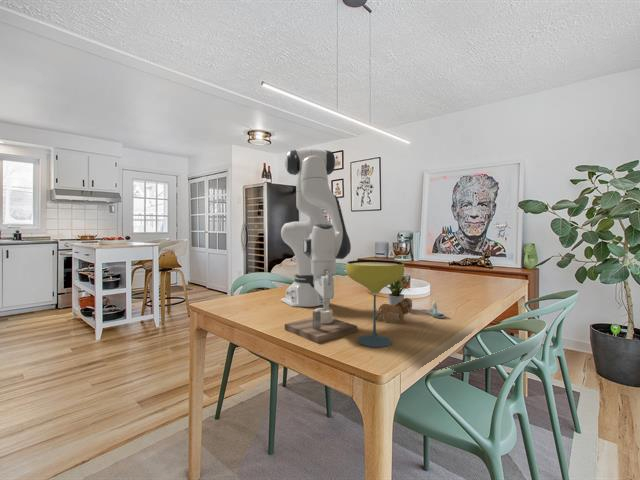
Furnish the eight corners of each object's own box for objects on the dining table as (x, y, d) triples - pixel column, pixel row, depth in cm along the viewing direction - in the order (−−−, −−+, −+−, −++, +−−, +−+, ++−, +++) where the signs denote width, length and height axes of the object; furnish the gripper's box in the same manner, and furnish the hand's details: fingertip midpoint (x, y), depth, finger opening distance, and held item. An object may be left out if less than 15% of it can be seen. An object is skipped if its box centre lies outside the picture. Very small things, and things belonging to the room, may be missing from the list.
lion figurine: (410, 319, 129) (410, 296, 129) (414, 323, 124) (414, 299, 123) (372, 319, 129) (373, 296, 128) (375, 323, 123) (375, 299, 123)
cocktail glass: (414, 341, 104) (415, 262, 103) (382, 357, 91) (383, 267, 90) (368, 329, 117) (368, 258, 116) (334, 341, 104) (334, 262, 103)
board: (284, 329, 116) (284, 307, 116) (323, 320, 128) (323, 299, 127) (317, 343, 102) (317, 317, 102) (357, 331, 114) (357, 308, 113)
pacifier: (442, 314, 137) (427, 313, 137) (443, 299, 137) (428, 299, 137) (448, 319, 130) (432, 318, 130) (448, 303, 129) (433, 303, 130)
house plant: (413, 314, 136) (413, 275, 135) (379, 312, 140) (379, 274, 139) (413, 306, 149) (413, 271, 149) (382, 304, 153) (382, 270, 153)
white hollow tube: (316, 323, 116) (316, 311, 116) (313, 318, 122) (313, 307, 122) (334, 322, 117) (334, 311, 117) (330, 318, 123) (330, 306, 123)
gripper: (338, 271, 109) (338, 313, 109) (326, 266, 129) (326, 301, 129) (319, 272, 108) (319, 313, 108) (310, 266, 128) (311, 301, 128)
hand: (323, 307), depth 119 cm, fingers open, 8 cm apart
